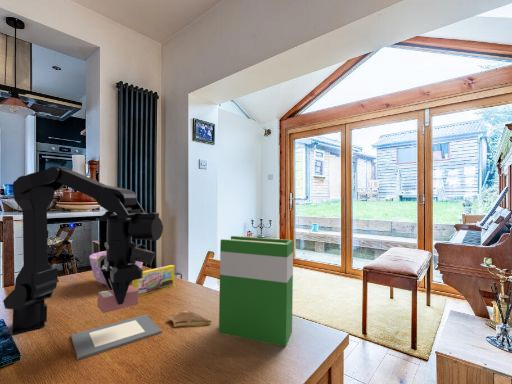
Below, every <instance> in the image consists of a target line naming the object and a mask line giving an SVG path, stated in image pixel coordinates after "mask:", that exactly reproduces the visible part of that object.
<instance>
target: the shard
mask: <svg viewBox="0 0 512 384" xmlns="http://www.w3.org/2000/svg"><path fill="white" fill-rule="evenodd" d="M168 320H169V321H171V322H172V323H173V328H177V327H194V326H196V327H197V326H198V327H199V326H200V327H201V326H208V325H211V323H212V320H210V319H208V318H205V317H203V316H202V315H200V314H198V313H195V312H193V311H191V310H185V311H179V312H176V313H174V314H171V315H169V316H168Z"/></svg>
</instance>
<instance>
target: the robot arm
mask: <svg viewBox="0 0 512 384" xmlns="http://www.w3.org/2000/svg"><path fill="white" fill-rule="evenodd" d="M64 186H65V187H67V188H70V189H72V190H74V191H77V192H79V193H81V194H83V195H85V196H88V197H90V198H91V199H94V200H95V202H96V203H97V204H98V206H100V207H101V208H103V209H104V210H106V211H105V212H104V214H102V215H101V216H99V218H98V221H100V222H101V221H103V222H107V223H106V242H104V247H105V249H106V250H105V251H106V255H102V256H101V257H100V258H99V259H98V267H99V268H102V267H103V265H104V269H102V270H101V272H102V275H103V277H104V279H105V281H106V283H107V285H106V286H107V287H108V290H113V293H114V295H115V298H116V300H117V303H118V305H120V304H123V303H124V299H125V296H126V293H127V290H128V287H129V286H131V285H130V284H132V281H133V280H136V279H141V278H143V271H144V270H143V269H142V268H140V267H139V266H137V265H136V264H134V263H136V261H138V262H143V264H146V265H152V263H153V260H154V259H155V255H156V253H155V252H154V251H151V250H148V249H147V248H146V247H147V246H146V245H144V244H140V243H138V244H136V243H135V242H133V240H137V241H138V240H141V241H147V240H148V241H158V240H160V239H161V237H162V236H163V235H162V234H163V231H164V225H163V222H162V219H161V217H160V213H159V212H149V213H148V212H147V213H146V212H145V210H144V208H143V207H142V206H141V204H140V203H139V201H138V199H137V198H138V197H137V194H136V192H135V191H133V190H131V189H127V188H123V187H118V186H117V187H116V186H112V185H106V184H105V183H102V182H100V181H98V180H95V179H93V178H91V177H88V176H86V175H84V174H81V173H79V172H76V171H75V170H73V169H72V168H69V167H65V166H58V165H57V166H56V165H54V166H51V167H48V168H46V169H44V170H40V171H39V170H38V171H35V172H33V173H29V174H26V175H20V176H19V177H17V179H15V180H14V181H13V183H12V192H13V199H14V201H15V202H16V204H17V205H18V206H19V208H20V209H21V210H22V211H21V212H22V247H23V251H22V252H23V253H22V254H23V257H22V258H23V266H22V268H21V269H20V271H19V272H18V274H17V276H16V277H15V282H14V283H15V284H14V287H13V290H12V291H11V292H10V293H9V294H8V295H7V296H6V297H5V298H4V299H3V300H2V302H3V306H4V309H6V310H12V324H11V332H10V333H11V335H15V334H16V335H17V334H20V333H24V332H28V331H33V330H37V329H41V328H44V327H45V324H46V322H47V319H48V303H46V302H45V300H47V299H51V298H52V296H53V292H54V290H55V289H56V288H57V285H58V283H59V282H60V281H59V277H58V276H59V275H58V274H59V269H58V267H52V265H51V264H50V263H49V254H48V252H49V251H48V250H49V249H48V245H49V244H48V208H49V207H50V205H51V204H52V202H53V200H54V199H55V192H57V191H59V190H61V189H63V187H64ZM128 264H129V265H128Z"/></svg>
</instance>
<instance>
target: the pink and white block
mask: <svg viewBox="0 0 512 384" xmlns="http://www.w3.org/2000/svg"><path fill="white" fill-rule="evenodd" d="M138 304H139V297H138V290H137V289H136V288H134V287H133V286H132V285H129V287H128V290H127V293H126V296H125V299H124V303H123V304H120V305H118V303H117V300H116V298H115V295H114V293H113V290H109V289H108V290H102V291H98V292H97V308H98V309H99V310H100V312H101V313H102V314H105V313H110V312H114V311H116V310H122V309H125V308H128V307H132V306H137V305H138Z"/></svg>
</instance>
